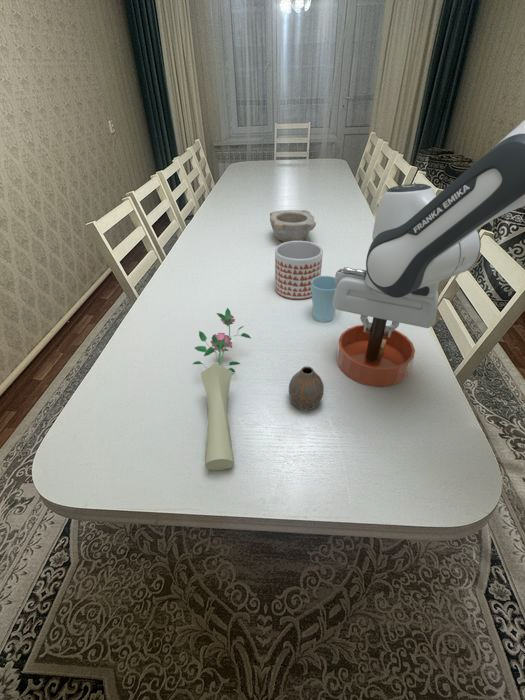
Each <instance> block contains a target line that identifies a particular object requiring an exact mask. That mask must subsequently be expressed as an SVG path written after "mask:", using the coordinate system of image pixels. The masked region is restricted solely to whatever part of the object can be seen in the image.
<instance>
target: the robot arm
mask: <svg viewBox="0 0 525 700" xmlns="http://www.w3.org/2000/svg"><path fill="white" fill-rule="evenodd" d="M523 207H525V119H524V120H523V121H521V122H520V123H519V124H518V125H517V126H516V127H514V129H512V130H511V131H510V132H509V133H508V134H507V135H506V136H504V137H503V138H502V139H501V140H500V141H499V142H497V144H496V145H494V146H493V148H491V149H490V150H489V151H487V153H485V154H484V155H483V156H482V157H481V158H479V159H478V160H477V161H476V162H475V163H473V164H472V165H470V167H468V168H467V169H466V170H465V171H464V172H462V173H461V174H460V175H458V176H457V178H455V179H454V180H453V181H452V182H451V183H449V184H448V186H445V188H444V189H443V190H441V191H440V192H439V193H438V194H436V192H435V189H434V187H432V185H429V184H426V183H410V184H408V183H407V184H400V185H396V186H391V187H389V188H388V189H387V190H385V192H384V193H383V195H382V197H381V199H380V201H379V204H378V208H377V211H376V214H375V219H374V223H373V230H372V236H371V237H372V241H371V243H370V246H369V248H368V251H367V254H366V259H365V269H360V268H351V267H348V266H347V267H346V266H345V267H343V268H339V269H338V270H337V271H336V272H335V275H334V277H335V284H336V285H337V288H336V291H335V294H334V298H333V306H334V308H335V311H336V310H337V311H341V312H346V313H350V314H354V315H355V314H356V315H360V317H359V319H360V321H361V323H362V325H364V330H363V332H367V333H370V332H371V327H372V321H371V322H370V321H369V318H368V317H371V318H373V317H375V318H379V319H384V320H387V321H390V322H391V324H390V325H386V327H385V329H384V334H383V336H386V337H390V336H391V332H392V331H393V330H396V329H397V328H398V327H399V326H400V324H405V325H409V326H414V327H419V328H424V329H430V328H431V327H433V326H434V325H435V322H436V318H437V312H438V306H439V291H438V289H439V285H440V282H442V281H445V280H447V279H451V278H452V277H455V276H458V275H460V274H463V273H465V272H468V271H469V270H470V269H471V268H472V267H473V266H474V265H475V264H476V263H477V260H478V258H479V256H480V253H481V248H482V241H481V235H480V233H479V229H481V228H482V227H483V226H485V225H486V224H489V223H490V222H492V221H493V220H495V219H497V218H500V217H501V216H504V215H506V214H508V213H510V212H513V211H515V210H517V209H520V208H523Z"/></svg>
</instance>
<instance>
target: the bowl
mask: <svg viewBox="0 0 525 700" xmlns="http://www.w3.org/2000/svg"><path fill="white" fill-rule="evenodd" d="M363 330H364V325H363V324H359V325H354V326H352V327H349V328H347V329H345V330H344V331H342V333H341V334H340V336H339V338H338V342H337V350H336V363H337V366H338V368H339V370H340V371H341V372H342V373H343V374H344V375H345V376H346V377H347V378H349V379H351V380H353V381H355V382H357V383H359V384H362V385H366V386H369V387H391V386H395V385H397V384H399V383H402V382H403V381H404V380H405V379H406V378H407V377H408V375H409V373H410V371H411V368H412V365H413V361H414V358H415V353H416V349H415V346H414V343H413V342H412V341H411V339H410V338H409V337H408V336H406V335H405V334H403V333H402V332H400V331H399V330H396V329H395V330H393V331H392V332H391V336H390V337H386V336H383V339H385V340H386V345H385V349H384V353H383V355H382V358H381V360H379V359H378V360H377V361H369V360H367V359H366V357H365V355H366V350H367V345H368V341H369V336H370V333H367V332H363Z"/></svg>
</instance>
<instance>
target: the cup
mask: <svg viewBox="0 0 525 700" xmlns="http://www.w3.org/2000/svg"><path fill="white" fill-rule="evenodd" d="M311 287H312V297H311V301H312V303H311V305H312V317H313V318H314V320H315V321H316V322H320V323H328V322H331V321H333V320H334V317H335V314H336V309H335V308H334V306H333V298H334V294H335V291H336V288H337V285H336V284H335V276H330V275H321V276H319V277H316V278H314V279H313V280H312V281H311Z"/></svg>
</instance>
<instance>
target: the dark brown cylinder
mask: <svg viewBox="0 0 525 700" xmlns="http://www.w3.org/2000/svg"><path fill="white" fill-rule="evenodd" d="M371 323H372V327H371V332H370V336H369V341H368V346H367V351H366V356H365V357H366V359H367V360H369V361H377V360H378V357H379V353H380V348H381V344H382V340H383V334H384V329H385V327H386V326H387V323H388V320H384V319H379V318H375V317H372V321H371Z"/></svg>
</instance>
